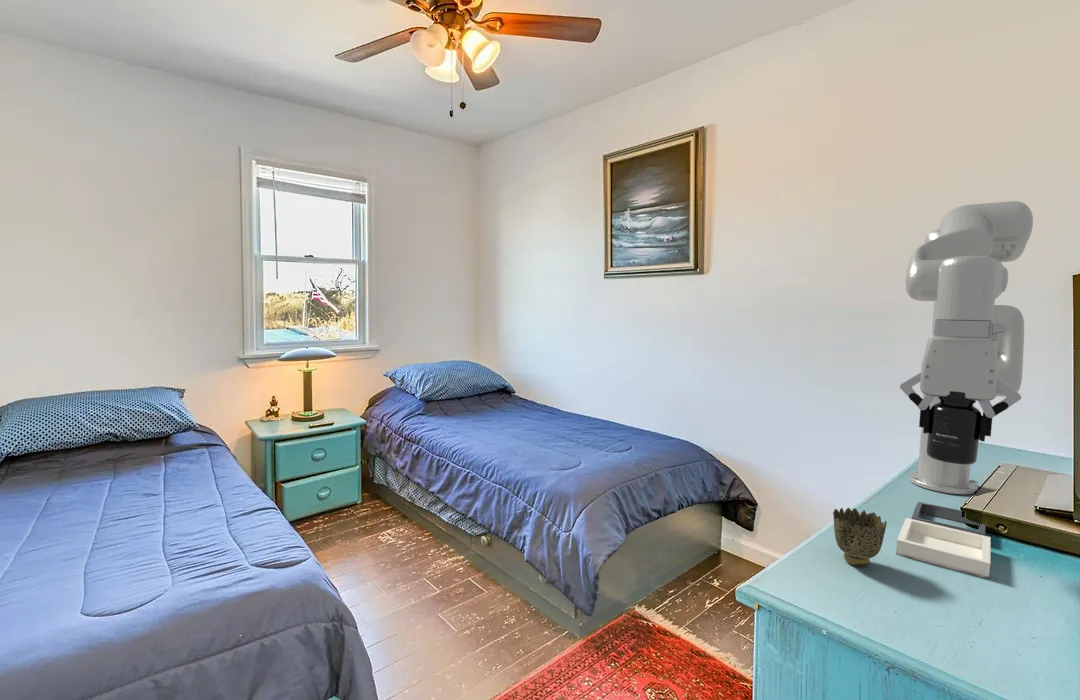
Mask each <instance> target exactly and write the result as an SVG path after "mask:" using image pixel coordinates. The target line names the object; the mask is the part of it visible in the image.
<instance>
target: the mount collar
mask: <svg viewBox="0 0 1080 700" xmlns="http://www.w3.org/2000/svg"><path fill="white" fill-rule="evenodd" d="M962 511H963V510H959V509H955V508H951V507H950V508H949V507H945V506H942V505H937V504H930V503H926V502H922V501H917V502H916V506H915V507H914V511H913V513H912V516H911V519H913V520H918V521H922V522H926V523H931V524H935V525H939V526H944V527H948V528H953V529H957V530H961V531H966V532H970V533H974V534H979V535H983V536H986V524H985V525H984V524H981V523H980V525H979V523H976V522H973V521H970V520H968V519H966V518H964V517H961V515H962ZM922 514H924V515H927V516H928V515H929V516H933V517H937V518H942V519H946V520H951V521H955V522H960V523H964V524H969V525H972V526H973V525H974V526H978V530H973V529H970V528H964V527H960V526H957V525H951V524H947V523H943V522H938V521H934V520H930V519H925V518H921V515H922Z"/></svg>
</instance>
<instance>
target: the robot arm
mask: <svg viewBox="0 0 1080 700" xmlns="http://www.w3.org/2000/svg"><path fill="white" fill-rule="evenodd" d="M1033 226H1034V217H1033V212H1032V210H1031V208H1030V207H1029V205H1027V204H1026V203H1025V202H1023V201H1015V200H1011V201H999V202H987V203H973V204H972V203H971V204H965V205H960V206H958V207H957V206H956V207H955V208H952V209H950V210H949V211H947V212H946V213H945V215H943V217H942V218H941V220H940V224H939V228H936V229H934V230H932V231H930V232H929V233H928V234H927V235H926V237H925V239H924V243H923V244H921V245H919V246H918V247H917V248H916V249H915V250H914V251H913V252H912V254H911V255H910V257H909V260H908V264H907V268H906V275H905V290H906V293H907V295H908V296H909V297H910V298H911V299H913V300H915V301H919V302H933V311H932V323H931V324H932V325H931V329H932V331H931V332H932V337H928V339H927V343H926V345H925V348H924V354H923V359H922V361H921V366H920V368H921V369H920V372H919V373H918V374H916V375H914V376H912V377H910V378H909V379H907V380H906V381H904V382H902V383H901V384H900V385H899V387H900V389H901V391H902V392H903V393H904V394H905V395H906V396H907V397H908V399H909V400H910V401H911V402H913V404H915V406H916V407H918V409H919V410H920V412H919V423H918V427H919V428H921V429H920V440H919V449H918V450H919V452H918V453H919V454H918V465H917V471H915V472H911V473H910V474H909V476H908V479H909V481H910V482H911V483H913V484H915V485H916V486H918V487H921V488H923V489H924V488H925V489H927V490H931V491H933V492H940V493H945V494H953V495H972V494H975V493H974V492H975V491H976V490H977V491H978V485H977V484H975V482H973V481H971V480H970V475H971V465H972V464H967V465H965V464H954V463H948V462H943V461H939V460H936V459H933V458H931V457H929V456H928V455H927V453H926V450H927V439H928V433H929V422H930V410H931V407H932V406H933V405H934V404H936V403H939V402H940V399H939V397H946V396H947V395H949V394H950V391H955V392H963V393H965V398H968V399H970V400H975V401H976V402H978V403H979V404H978V405H980V408H981V410H982V414H981V424H980V435H979V441H980V442H985V440H986V437H992V428H993V427H992V426H993V418H994V417H996V416H998V415H999V414H1001V413H1003V412H1004V411H1006V410H1007V409H1009V408H1010V407H1011V406H1013V405H1015V404H1016V403H1017V402H1019V401H1020V400H1021V399H1022V395H1021V394H1020V393H1019V391H1020V389H1021V385H1022V380H1023V366H1024V364H1023V363H1024V346H1025V345H1024V344H1025V320H1024V316H1023V313H1022V311H1021V310H1020V309H1019V308H1018V307H1016V306H1013V305H1006V304H995V302H996V299H997V298H998V297H1000V296H1001V295H1002V293H1005V291H1006V289H1007V286H1008V283H1009V271H1008V268H1007V267H1005V265H1003V263H1009V262H1013V261H1017V260H1018V259H1019V258H1020V257H1022V254H1023V253H1024V251H1025V249H1026V246H1027V243H1028V242H1029V240H1030V237H1031V234H1032V231H1033ZM917 384H919V389H920V391H921V393H922V397H921V395H919V394H918V393H917V392H916V391H915V390H914V389H913V387H914V386H916V385H917ZM997 397H1004V398H1003V399H1002V400H1001V401H999V402H997V403H995V404H994V405H992V404H991V401H993V400H994V399H995V398H997Z"/></svg>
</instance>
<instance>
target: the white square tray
mask: <svg viewBox="0 0 1080 700" xmlns="http://www.w3.org/2000/svg"><path fill="white" fill-rule="evenodd" d="M991 540H992V539H991V536H987V535H985V536H983V535H979V534H974V533H970V532H966V531H961V530H957V529H953V528H948V527H944V526H939V525H935V524H931V523H926V522H922V521H918V520H913V519H912V518H909V517H905V519H904V522H903V524H902V527H901V529H900V532H899V534H898V537H897V539H896V548H895V549H896V550H895V555H898V556H902V557H905V558H910V559H912V560H917V561H920V562H924V563H929V564H931V565H936V566H940V567H943V568H945V569H946V568H947V569H949V570H954V571H957V572H960V573H966V574H969V575H973V576H977V577H980V578H983V579H987V580H989V579H990V571H991V570H990V569H991Z"/></svg>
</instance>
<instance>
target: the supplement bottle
mask: <svg viewBox="0 0 1080 700" xmlns="http://www.w3.org/2000/svg"><path fill="white" fill-rule="evenodd" d="M939 399H940V402H939V403H936V404H934V405H933V406H932V407H931V410H930V422H929V433H928V439H927V450H926V453H927V455H928V456H929V457H931V458H933V459H936V460H939V461H943V462H948V463H954V464H965V465H967V464H971V465H973V464H975V463H976V462H977V459H978V450H979V445H980V444H979V443H980V440H979V435H980V424H981V415H982V412H981V411H980V409H978V408H977V407H975V405H974V404H976V402H977V401H975V400H970V399H968V398H965V393H963V392H955V391H950V394H949V395H947V396H946V397H939Z"/></svg>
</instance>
